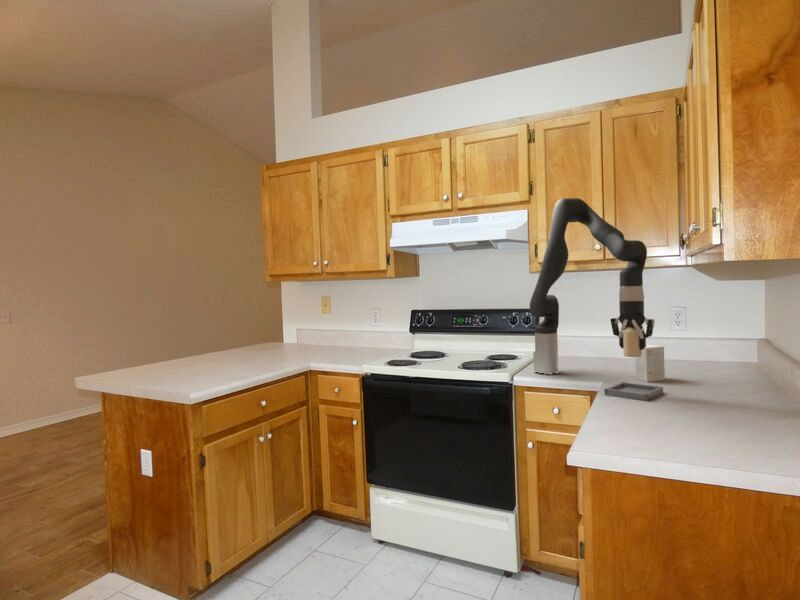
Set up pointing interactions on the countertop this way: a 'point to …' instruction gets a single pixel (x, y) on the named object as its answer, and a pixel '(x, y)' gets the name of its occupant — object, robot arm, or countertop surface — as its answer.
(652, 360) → the small box
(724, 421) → the countertop surface
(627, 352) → the candle
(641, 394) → the rest tray
